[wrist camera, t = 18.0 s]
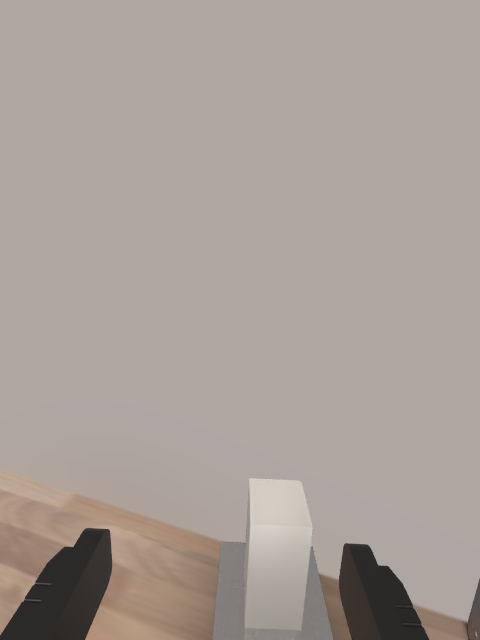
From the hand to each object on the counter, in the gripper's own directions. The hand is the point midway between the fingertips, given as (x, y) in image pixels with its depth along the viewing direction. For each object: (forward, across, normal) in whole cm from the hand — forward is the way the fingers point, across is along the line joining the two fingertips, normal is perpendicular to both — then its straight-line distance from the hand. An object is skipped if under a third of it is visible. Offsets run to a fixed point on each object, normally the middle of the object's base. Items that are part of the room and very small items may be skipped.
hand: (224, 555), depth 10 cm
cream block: (+14, -4, +22) cm, 26 cm away
